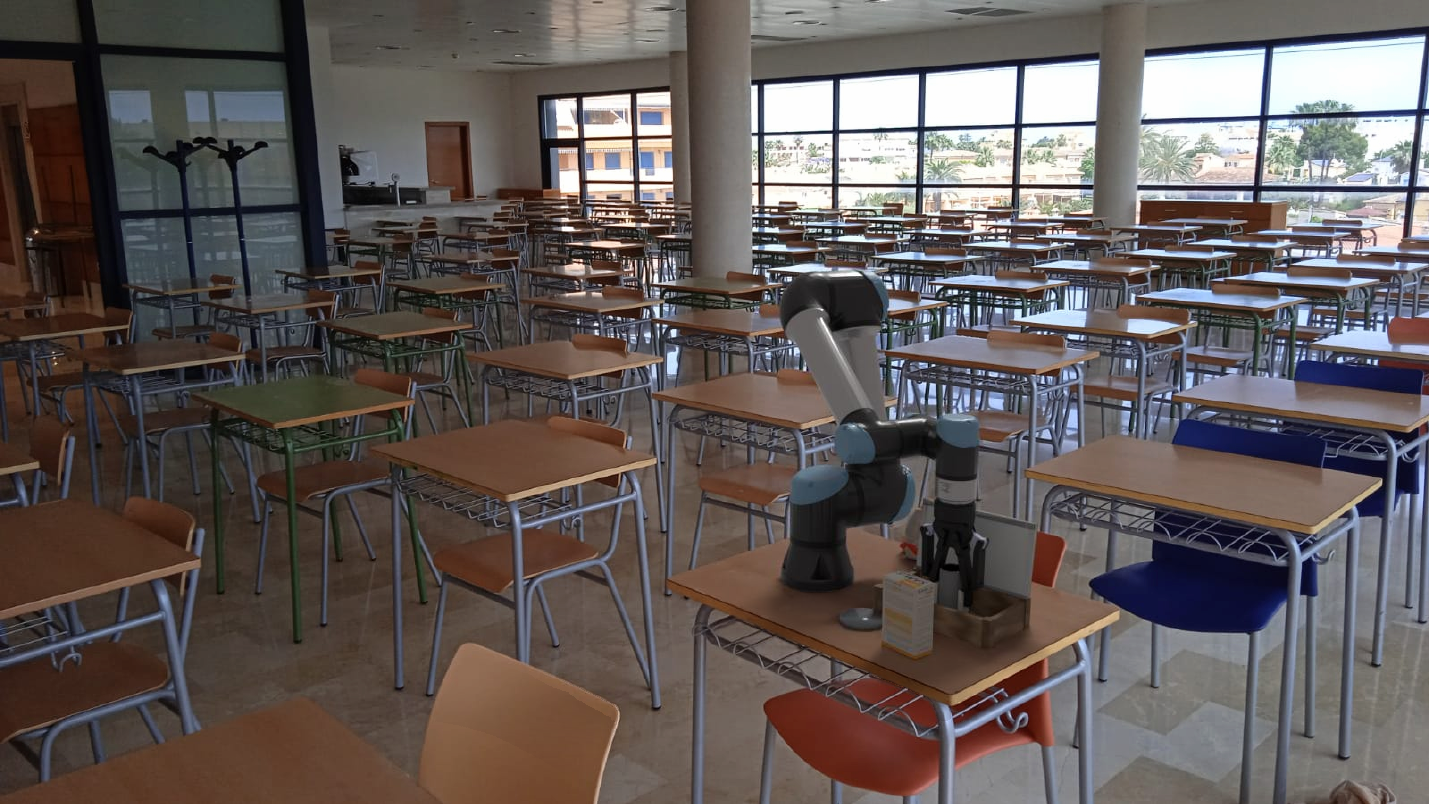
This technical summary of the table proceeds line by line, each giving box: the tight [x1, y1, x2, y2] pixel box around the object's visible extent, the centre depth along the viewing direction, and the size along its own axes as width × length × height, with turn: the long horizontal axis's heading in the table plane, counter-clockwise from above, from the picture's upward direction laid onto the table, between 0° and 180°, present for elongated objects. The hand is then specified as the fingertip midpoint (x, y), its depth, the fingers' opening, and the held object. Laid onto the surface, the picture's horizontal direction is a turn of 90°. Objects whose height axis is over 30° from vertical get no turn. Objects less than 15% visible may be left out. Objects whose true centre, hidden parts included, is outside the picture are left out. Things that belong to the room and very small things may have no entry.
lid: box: [914, 497, 1039, 600], centre depth 200 cm, size 24×14×1 cm
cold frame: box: [873, 567, 1032, 651], centre depth 197 cm, size 25×15×5 cm, turn 46°
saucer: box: [839, 607, 883, 631], centre depth 197 cm, size 8×8×1 cm
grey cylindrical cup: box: [939, 563, 962, 610], centre depth 196 cm, size 4×4×10 cm
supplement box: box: [881, 570, 934, 660], centre depth 183 cm, size 8×5×13 cm, turn 35°
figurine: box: [899, 507, 922, 561], centre depth 230 cm, size 9×7×12 cm
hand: (950, 617), depth 197 cm, fingers closed on grey cylindrical cup, 4 cm apart
